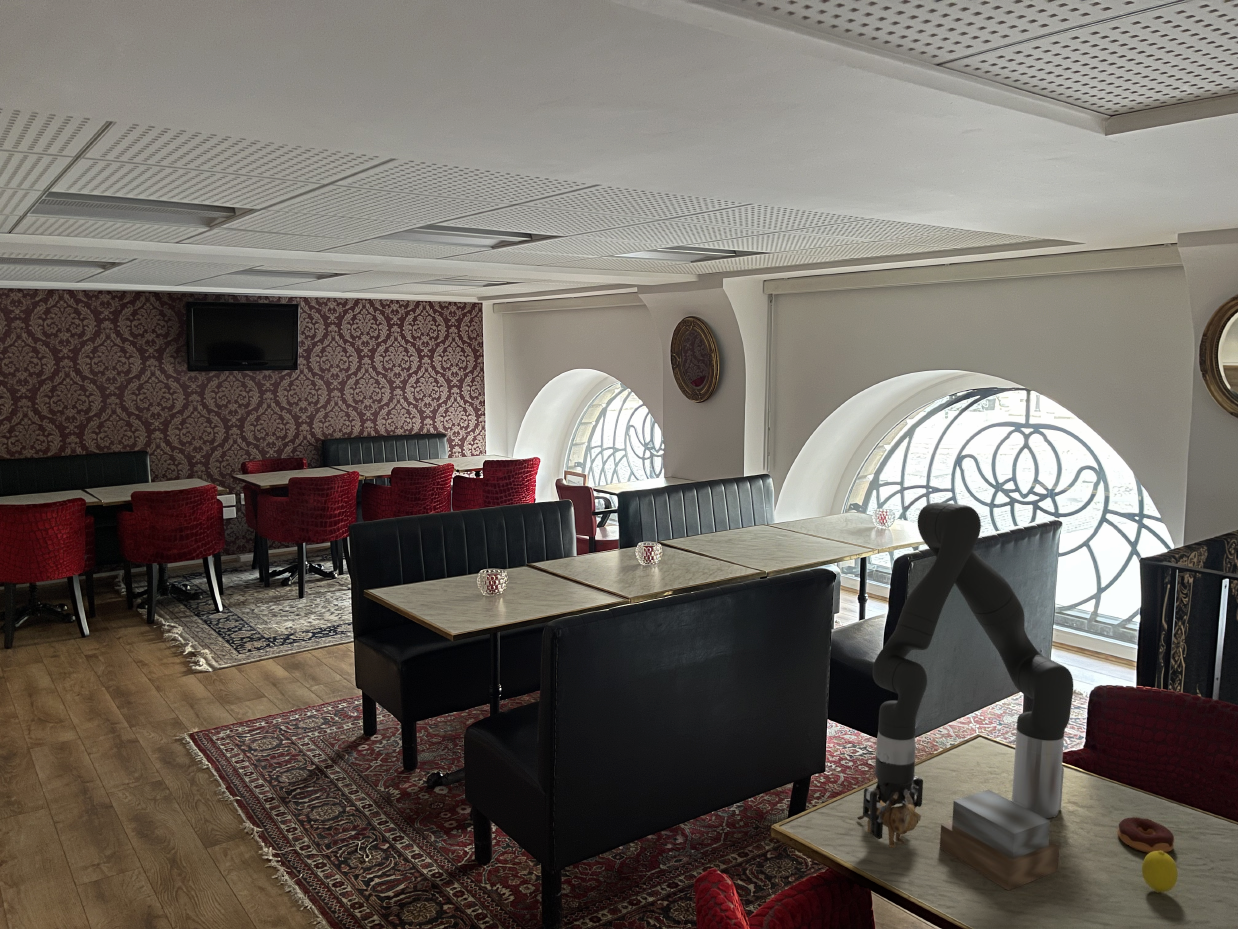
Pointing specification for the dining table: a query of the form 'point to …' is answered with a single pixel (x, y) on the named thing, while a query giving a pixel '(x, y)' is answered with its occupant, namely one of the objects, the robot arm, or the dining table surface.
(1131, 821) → the donut
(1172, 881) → the lemon
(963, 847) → the two-tone block
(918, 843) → the dining table surface
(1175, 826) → the dining table surface
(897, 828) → the lion figurine
